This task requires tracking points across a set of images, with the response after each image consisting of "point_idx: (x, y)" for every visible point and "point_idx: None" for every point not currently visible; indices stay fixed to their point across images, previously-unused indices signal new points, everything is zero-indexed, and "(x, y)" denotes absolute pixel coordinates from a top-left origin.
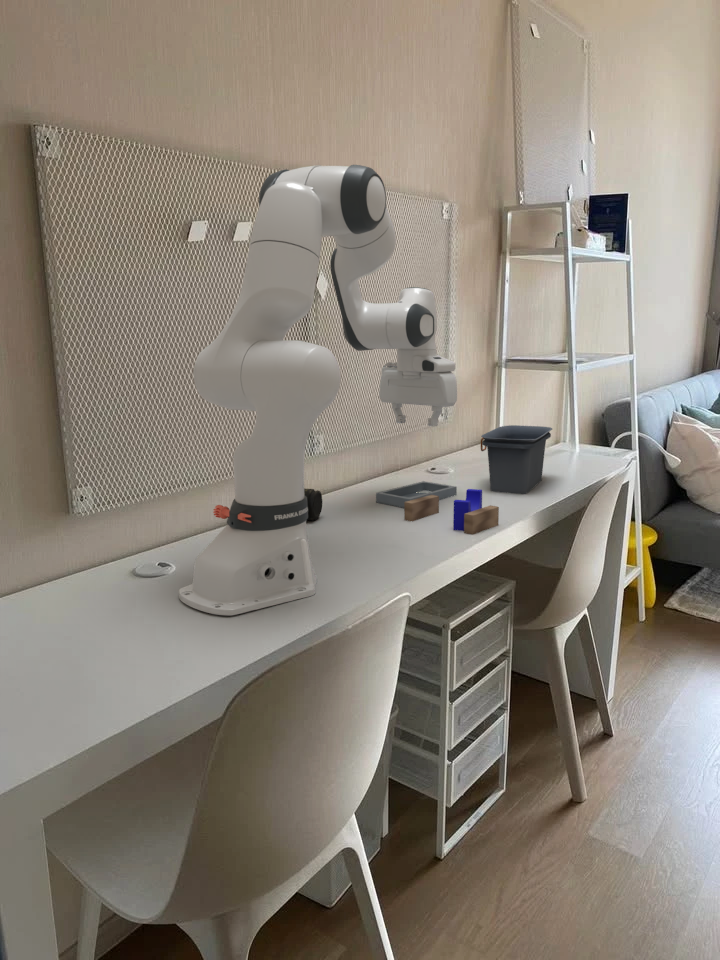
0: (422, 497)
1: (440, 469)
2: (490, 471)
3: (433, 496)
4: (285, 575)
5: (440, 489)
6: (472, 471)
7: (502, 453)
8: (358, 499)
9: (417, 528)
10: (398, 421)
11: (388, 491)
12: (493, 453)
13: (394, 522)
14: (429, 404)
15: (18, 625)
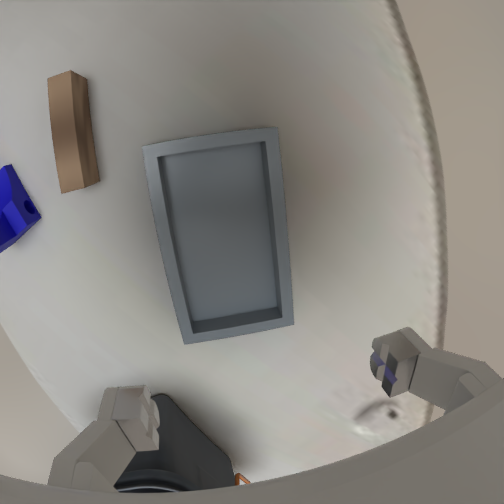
0: (75, 143)
1: (381, 421)
2: (160, 426)
3: (66, 178)
4: None
5: (182, 295)
6: (329, 449)
7: (128, 465)
8: (337, 129)
9: (25, 68)
10: (394, 334)
11: (268, 168)
12: (146, 460)
13: (88, 49)
14: (73, 494)
15: None
